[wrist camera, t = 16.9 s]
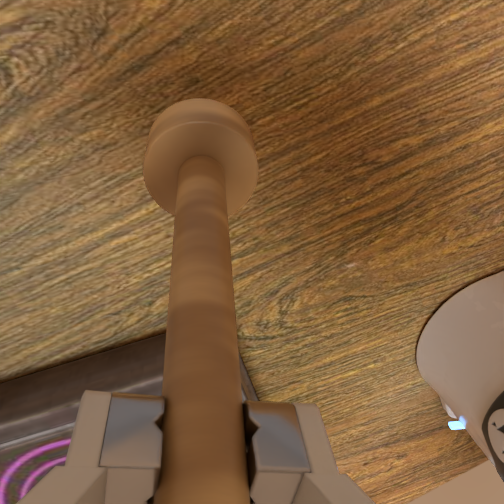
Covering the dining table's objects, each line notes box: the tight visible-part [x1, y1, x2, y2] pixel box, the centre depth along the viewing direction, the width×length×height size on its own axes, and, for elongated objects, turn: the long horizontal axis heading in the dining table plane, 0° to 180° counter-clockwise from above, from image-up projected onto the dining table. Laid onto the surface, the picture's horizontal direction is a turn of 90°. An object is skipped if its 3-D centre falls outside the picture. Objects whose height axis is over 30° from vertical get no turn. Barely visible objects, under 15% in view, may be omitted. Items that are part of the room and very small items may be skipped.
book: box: [0, 333, 259, 504], centre depth 42 cm, size 30×22×5 cm
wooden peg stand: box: [143, 98, 259, 504], centre depth 11 cm, size 4×4×17 cm
